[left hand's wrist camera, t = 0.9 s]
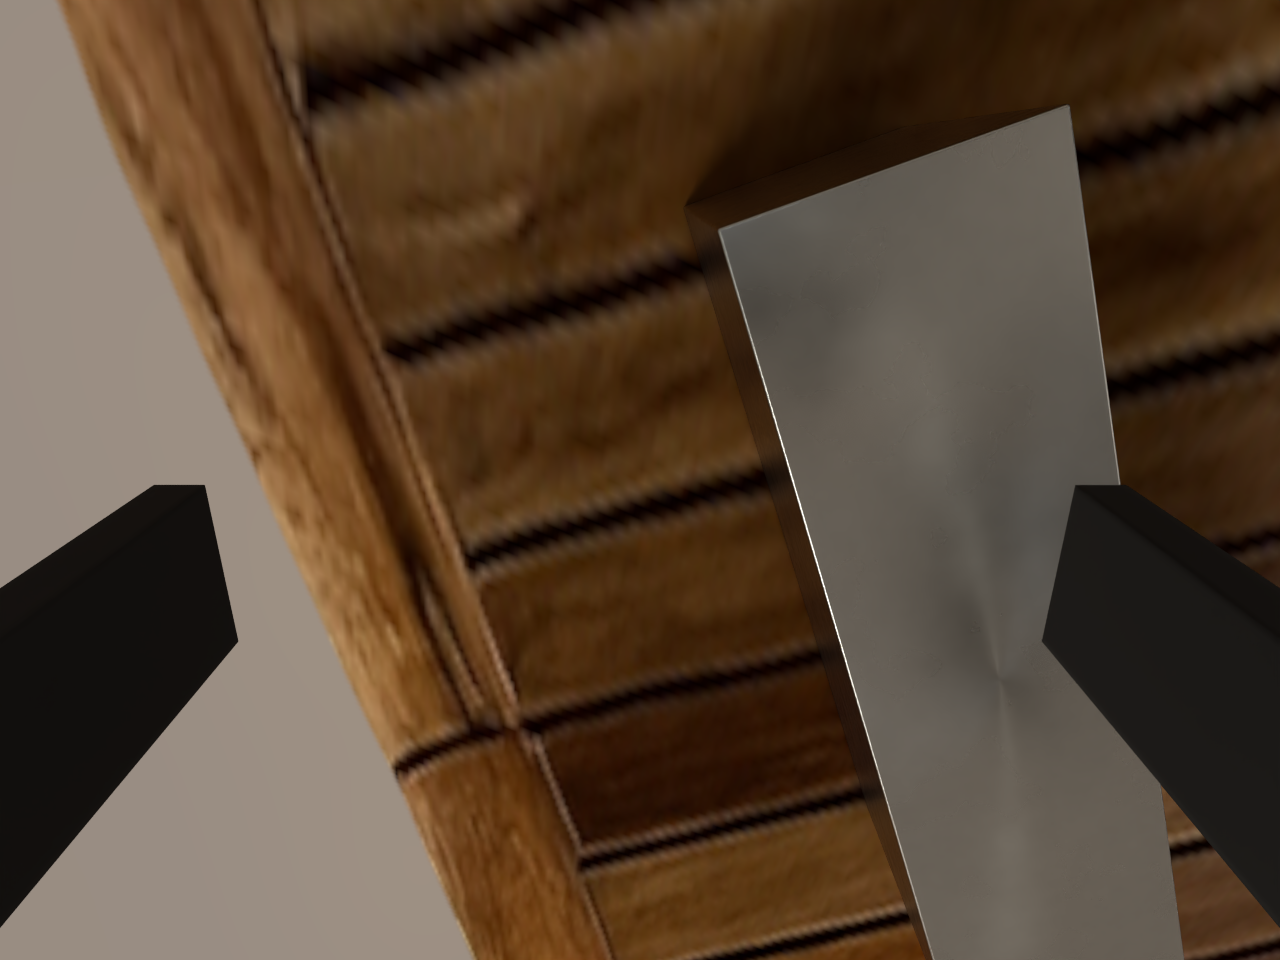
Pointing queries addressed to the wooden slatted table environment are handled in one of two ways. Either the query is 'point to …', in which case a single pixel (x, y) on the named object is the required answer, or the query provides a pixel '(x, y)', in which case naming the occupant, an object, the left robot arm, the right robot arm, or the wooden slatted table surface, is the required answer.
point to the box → (948, 516)
